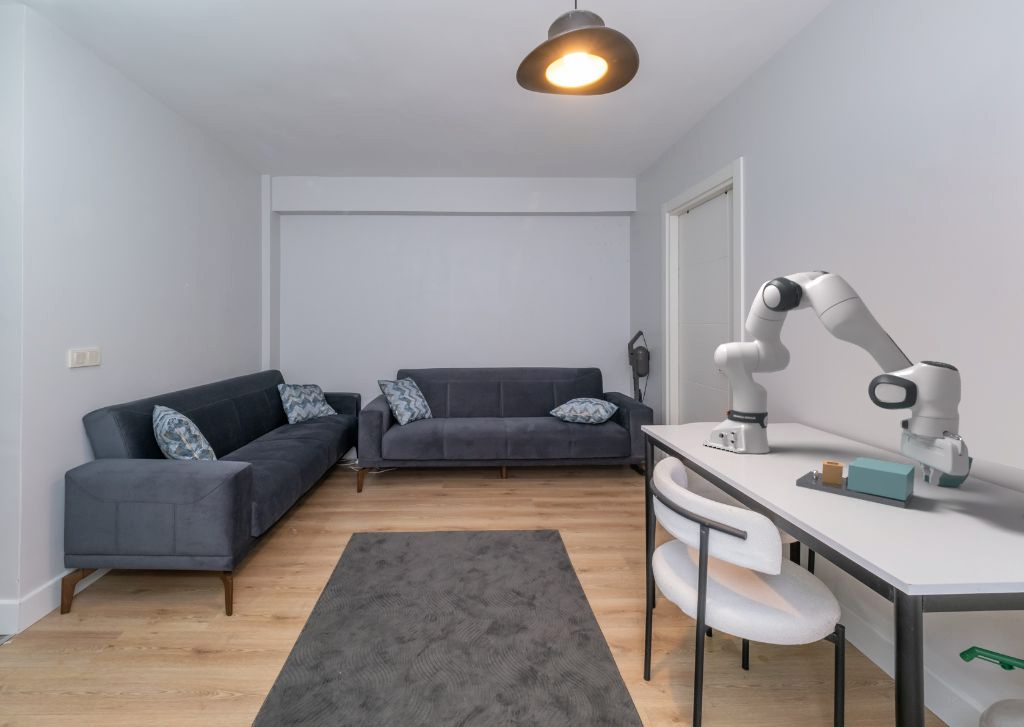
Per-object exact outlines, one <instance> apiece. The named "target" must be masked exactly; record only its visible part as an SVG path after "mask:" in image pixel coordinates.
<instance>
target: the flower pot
mask: <svg viewBox="0 0 1024 727" xmlns="http://www.w3.org/2000/svg"><path fill="white" fill-rule="evenodd" d="M973 459H974V458H973V457H971V456H969V472H968V473H967V474H966V475H965V476H957V475H949V474H947V473H945V472H943V474H942V475H941V477H940V478H939V484H938V485H937V486H938V487H941V486H942V487H953V488H957V487H960V486H961V485H962V484H963V483H964V482H965V481H966V480H967V478H968V477H969V475H970V471H971V467H972V464H973ZM919 464H920V467H921V462H919Z"/></svg>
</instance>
